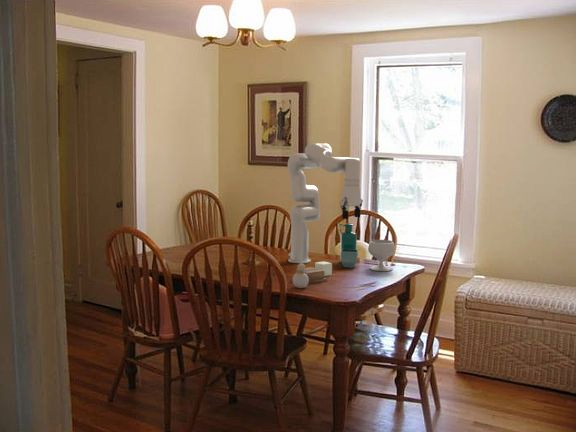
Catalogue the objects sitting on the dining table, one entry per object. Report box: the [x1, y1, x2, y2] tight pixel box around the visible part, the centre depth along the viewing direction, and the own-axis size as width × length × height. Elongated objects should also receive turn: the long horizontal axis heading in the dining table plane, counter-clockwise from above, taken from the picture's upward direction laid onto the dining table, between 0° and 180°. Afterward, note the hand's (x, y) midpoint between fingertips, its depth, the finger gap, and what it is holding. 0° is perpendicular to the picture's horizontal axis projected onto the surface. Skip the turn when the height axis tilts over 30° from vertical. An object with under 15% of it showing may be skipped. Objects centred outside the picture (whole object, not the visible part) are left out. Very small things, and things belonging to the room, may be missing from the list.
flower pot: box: [340, 249, 359, 269], centre depth 330 cm, size 9×9×9 cm
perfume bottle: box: [291, 262, 309, 289], centre depth 280 cm, size 8×10×12 cm
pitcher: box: [338, 222, 358, 264], centre depth 342 cm, size 10×8×22 cm
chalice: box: [367, 239, 396, 272], centre depth 324 cm, size 14×14×15 cm
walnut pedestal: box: [291, 266, 328, 285], centre depth 297 cm, size 12×12×5 cm
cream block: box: [314, 261, 333, 277], centre depth 310 cm, size 6×6×6 cm
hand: (351, 217), depth 304 cm, fingers open, 9 cm apart
